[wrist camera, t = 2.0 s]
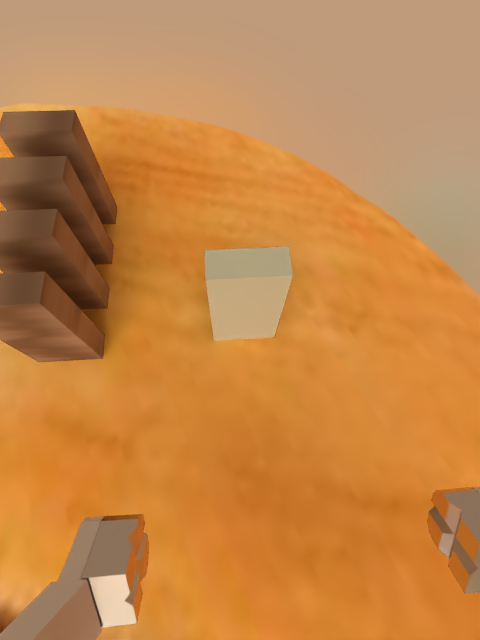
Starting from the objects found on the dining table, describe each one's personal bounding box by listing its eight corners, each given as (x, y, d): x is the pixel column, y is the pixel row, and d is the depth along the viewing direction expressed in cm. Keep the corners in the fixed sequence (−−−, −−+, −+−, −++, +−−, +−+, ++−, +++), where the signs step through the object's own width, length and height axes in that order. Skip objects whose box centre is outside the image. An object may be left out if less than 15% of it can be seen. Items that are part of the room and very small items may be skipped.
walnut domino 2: (55, 265, 31) (-18, 181, 22) (58, 247, 32) (-11, 158, 23) (111, 263, 32) (62, 178, 22) (113, 245, 32) (66, 155, 23)
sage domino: (214, 340, 29) (205, 279, 20) (213, 318, 30) (204, 249, 20) (274, 337, 29) (293, 275, 20) (271, 315, 30) (288, 246, 21)
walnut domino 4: (39, 362, 28) (-57, 308, 19) (43, 338, 29) (-47, 275, 19) (102, 358, 28) (39, 303, 19) (104, 335, 29) (45, 271, 20)
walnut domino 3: (47, 311, 30) (-35, 238, 20) (51, 290, 30) (-27, 212, 21) (107, 308, 30) (52, 235, 21) (109, 287, 31) (56, 208, 21)
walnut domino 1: (62, 225, 33) (-3, 131, 24) (65, 209, 34) (3, 111, 25) (115, 223, 33) (71, 129, 24) (117, 207, 34) (74, 110, 25)
